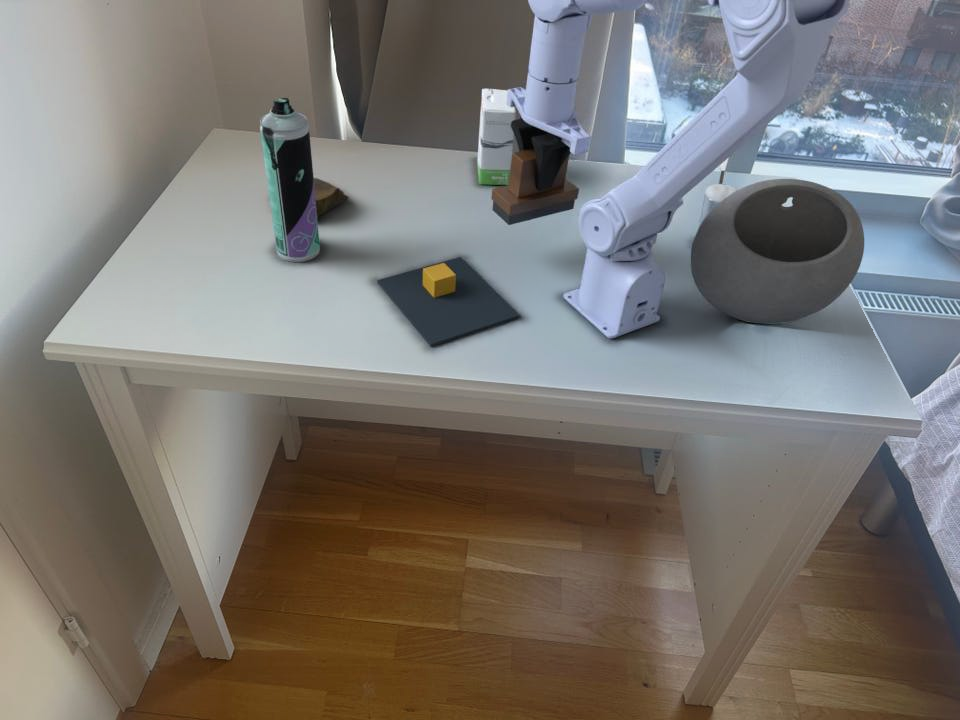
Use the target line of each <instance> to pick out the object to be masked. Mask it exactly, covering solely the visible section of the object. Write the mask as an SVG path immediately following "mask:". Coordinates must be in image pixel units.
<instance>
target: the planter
mask: <svg viewBox="0 0 960 720" xmlns="http://www.w3.org/2000/svg"><path fill="white" fill-rule="evenodd" d="M790 198H792V199H791V204H792V205H790V206H785V205H784V204H786V203H787V202H788V199H790ZM698 227H699V226H698ZM864 232H865V231H864V226H863V224H862V221H861V218H860V215H859V213H858V212H857V210H856V208H855V207H854V205H852V203H851V202H850V201H849V200H848V199H846V198H845V196H843V195H842V194H841V193H839V192H837V190H834V189H832V188H830V187H828V186H826V185H823V184H821V183H817V182H814V181H810V180H804V179H797V178H775V179H774V178H773V179H767V180H762V181H757V182H755V183H751V184H748V185H746V186H744V187H741V188H739V189H738V190H737V191H736V192H734V193H732V194H731V195H729V196H728V197H726V198H725V199H724V200H722V201H721V202H720V203H719V204H718V205H717V206H715V207H714V208H713V209H712V211H711V212H710V213H709V214H708V215H707V216H706V218H705V219H704V220H703V222H702V224H701V225H700V227H699V229H698V228H697V231H696V233H695V236H694V238H693V240H692V245H691V250H690V271H691V276H692V279H693V282H694V284H695V287H696V288H697V289H698V292H699V293H700V294H701V296H702V297H703V298H704V299H705V300H706V301H707V302H708V303H709V304H710V305H711V306H713V308H715V309H716V310H718V311H720V312H721V313H723V314H725V315H727V316H729V317H731V318H733V319H736V320H740V321H743V322H746V323H753V324H761V325H776V324H784V323H790V322H794V321H795V322H796V321H798V320H802V319H805V318H807V317H810V316H812V315H815V314H816V313H819V312H820V311H822V310H824V309H825V308H827V307H828V306H829V305H831V304H832V303H834V302H835V301H836V300H837V299H838V298H839V297H840V296H841V295H842V294H843V293H844V292H845V291H846V290H847V289H848V287H849V286H850V285H851V284H852V282H853V280H854V279H855V277H856V275H858V274H857V273H858V272H859V269H860V267H861V264H862V261H863V257H864V252H865V233H864Z"/></svg>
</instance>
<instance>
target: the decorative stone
mask: <svg viewBox="0 0 960 720" xmlns="http://www.w3.org/2000/svg"><path fill="white" fill-rule="evenodd" d="M313 178H314V189H315V200H316V211H317V218H318V217H319V216H320V215H321V214H323V213H325V212H327V211H328V210H330V209H332V208H334V207H336V206H338V205H340V204H341V203H343V202H345V201H347V200H348V198H349V196H347V194H345V192H344V191H343V190H342V189H340V188H339V187H337V186H335V185H333V184H331V183H329V182H327V181H324V180H322V179H320V178H317V177H313Z"/></svg>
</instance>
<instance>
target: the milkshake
mask: <svg viewBox="0 0 960 720" xmlns="http://www.w3.org/2000/svg"><path fill="white" fill-rule="evenodd" d="M724 177H725V170H720V176H719V181H718V183H714V184H711V185H710V186H708V187H706V189H705V191H704V197H703V202H702V207H701V213H700V217H699V223H698V227H697V230H698V229H699V227H700V225H701V224H702V222H703V220H704V219H705V218H706V216H707V215H708V214H709V213H710V212H711V211H712V209H713V208H714V207H715V206H717V205H718V204H719V203H720V202H721V201H722V200H724V199H725V198H726V197H728V196H729V195H731V194H732V193H734V192H736V191H737V190H739V189H738V188H737V187H733V186H731V185H729V184H724V183H723V182H724Z"/></svg>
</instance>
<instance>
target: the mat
mask: <svg viewBox="0 0 960 720" xmlns="http://www.w3.org/2000/svg"><path fill="white" fill-rule="evenodd" d="M441 263H445V264H446V265H447V266H448V267H449V268H450V269H451V270H452V271H453V272H454V273H455V274H456V286H455V292H452V293H449V294H445V295H442V296H439V297H436V298H434V297H433V296H432V295H431V294H430V293H429V292H428V291H427V289H426V288H425V287H424V286H423V269H424V268H427V267H431V266H434V265H438V264H441ZM376 283H377V284H378V285H379V287H380V288H381V289H382V290H383V291H384V293H385V294H386V295H387V296H388V298H390V300H391V301H392V302H393V303H394V305H395V306H396V307H397V308H398V309H399V310H400V312H401V313H402V314H403V316H404V317H405V318H406V319H407V320H408V321H409V323H410V324H411V325H412V326H413V327H414V329H415V330H416V331H417V332H418V333H419V335H420V336H421V337H422V339H424V341H425V342H426V343H427V344H428V346H429V347H430V348H431V347H435V346H438V345H440V344H444V343H447V342H449V341H453V340H456V339H459V338H462V337H465V336H467V335H471V334H474V333H477V332H479V331H480V332H481V331H484V330H486V329H489V328H493V327H495V326H497V325H502V324H504V323H507V322H510V321H513V320H516V319H519V318H520V314H519V313H518V312H517V311H516V310H515V309H514V308H513V307H512V306H511V305H510V304H509V303H508V302H507V301H506V300H505V299H504V298H503V297H502V296H501V295H500V294H499V293H498V292H497V291H496V290H494V288H493V287H492V286H491V285H489V283H488V282H487V281H485V280H484V278H483V277H482V276H481V275H480V274H479V273H477V271H475V269H473V268H472V266H470V265H469V263H467V261H466V260H464V258H462V257H461V256H459V257H455V258H452V259H448V260H444V261H440V262H437V263H433V264H430V265H425V266H423V267H419V268H416V269H412V270H408V271H405V272H401V273H397V274H394V275H391V276H387V277H383V278H380V279H377V280H376Z"/></svg>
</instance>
